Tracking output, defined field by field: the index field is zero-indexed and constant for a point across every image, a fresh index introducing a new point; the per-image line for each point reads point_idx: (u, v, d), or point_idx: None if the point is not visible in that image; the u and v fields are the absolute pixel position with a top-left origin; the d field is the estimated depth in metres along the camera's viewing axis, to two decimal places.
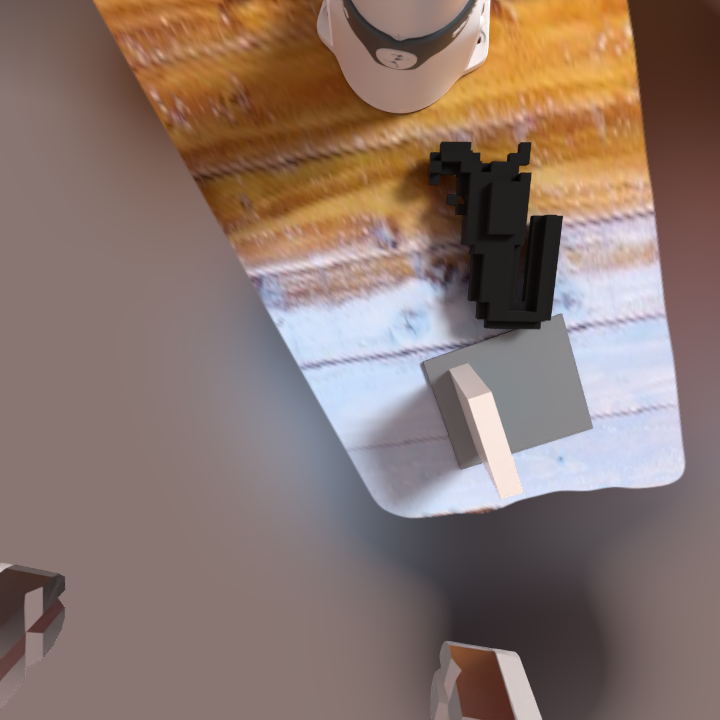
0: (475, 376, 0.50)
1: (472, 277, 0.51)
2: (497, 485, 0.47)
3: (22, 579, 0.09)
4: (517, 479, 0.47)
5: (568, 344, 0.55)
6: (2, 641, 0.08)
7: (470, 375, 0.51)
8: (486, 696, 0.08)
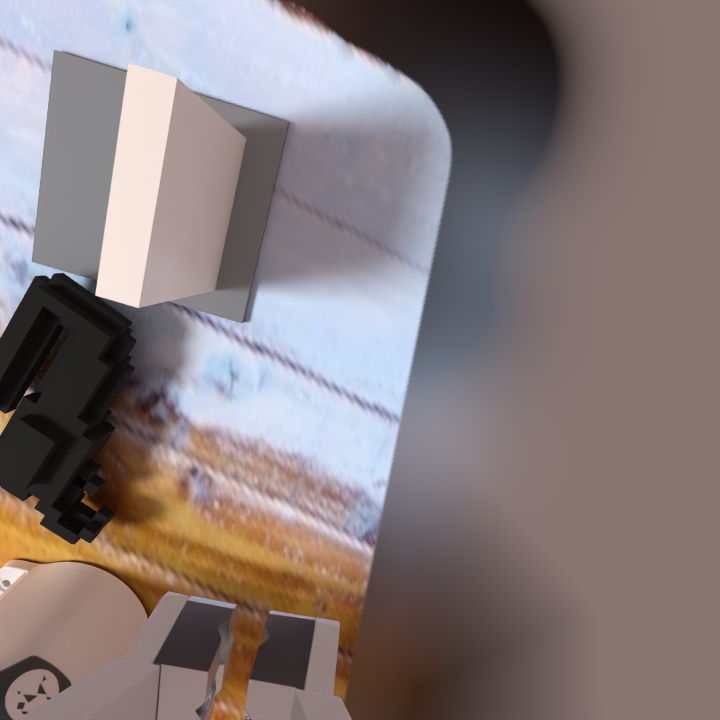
0: None
1: (110, 395, 0.36)
2: (168, 113, 0.22)
3: (208, 611, 0.09)
4: (126, 100, 0.22)
5: (39, 213, 0.36)
6: (210, 677, 0.08)
7: None
8: (284, 660, 0.08)
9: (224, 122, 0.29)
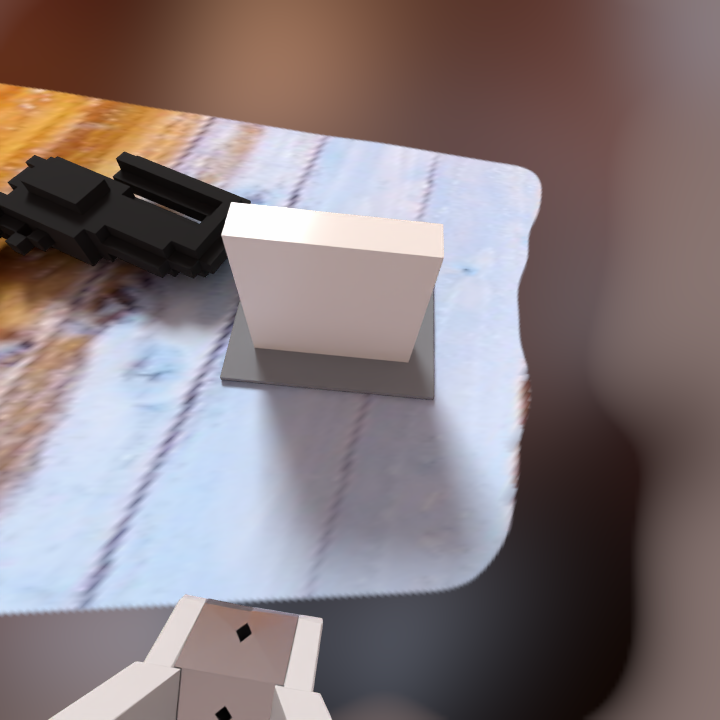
0: None
1: (130, 254, 0.34)
2: (412, 252, 0.24)
3: (225, 614, 0.09)
4: (413, 223, 0.25)
5: None
6: None
7: None
8: (265, 657, 0.08)
9: (417, 328, 0.30)
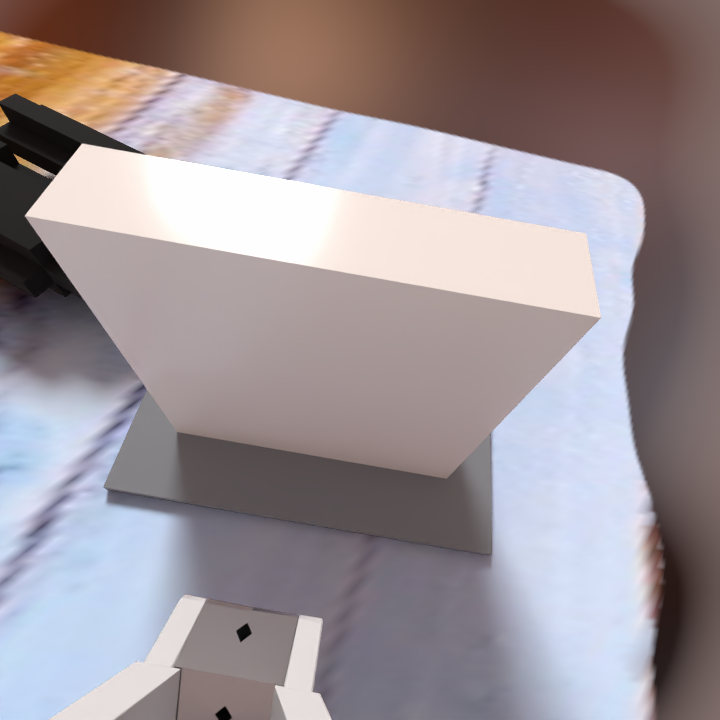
0: None
1: None
2: (520, 299, 0.09)
3: (225, 614, 0.09)
4: (516, 226, 0.10)
5: None
6: None
7: None
8: (265, 657, 0.08)
9: (479, 438, 0.15)
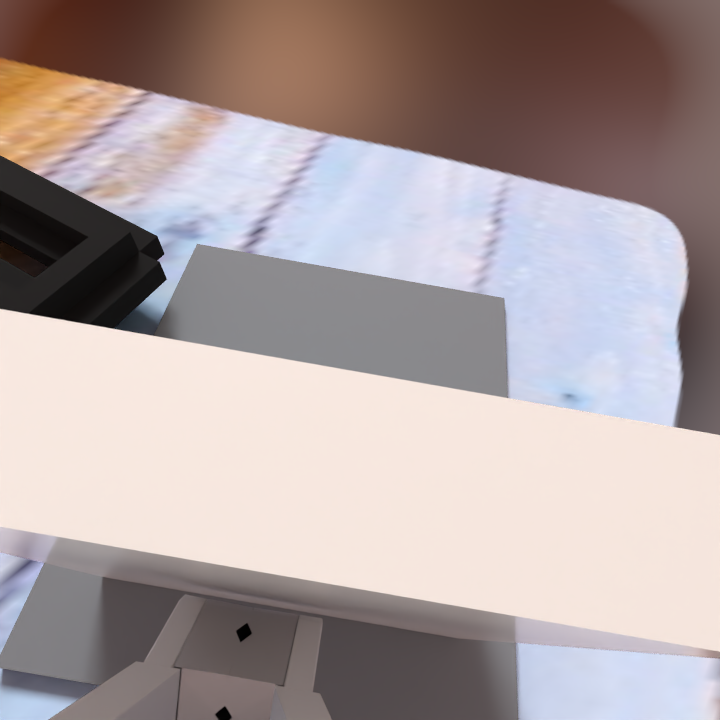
0: None
1: None
2: (625, 621, 0.05)
3: (225, 614, 0.09)
4: (597, 426, 0.06)
5: (272, 260, 0.22)
6: None
7: None
8: (266, 657, 0.08)
9: (508, 641, 0.11)
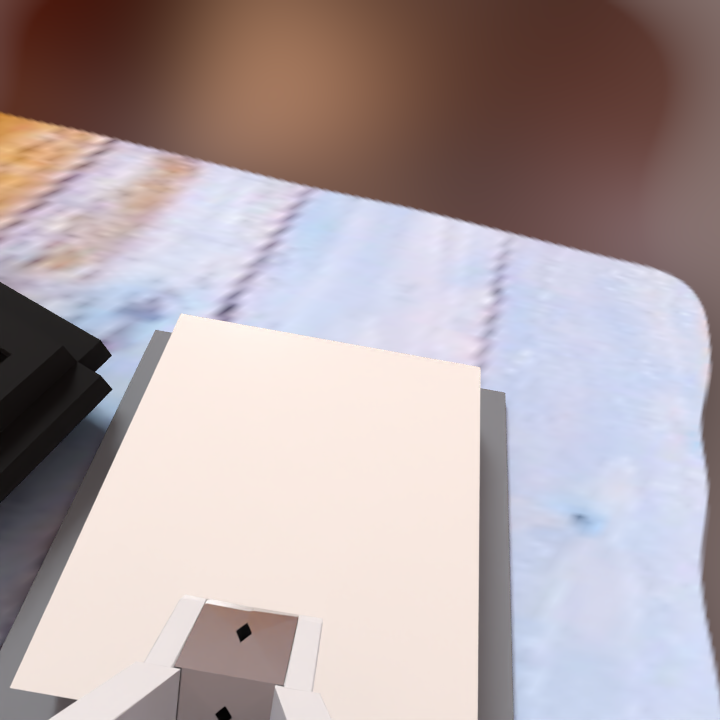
0: None
1: None
2: None
3: (225, 615, 0.09)
4: None
5: None
6: None
7: None
8: (265, 657, 0.08)
9: (473, 560, 0.14)
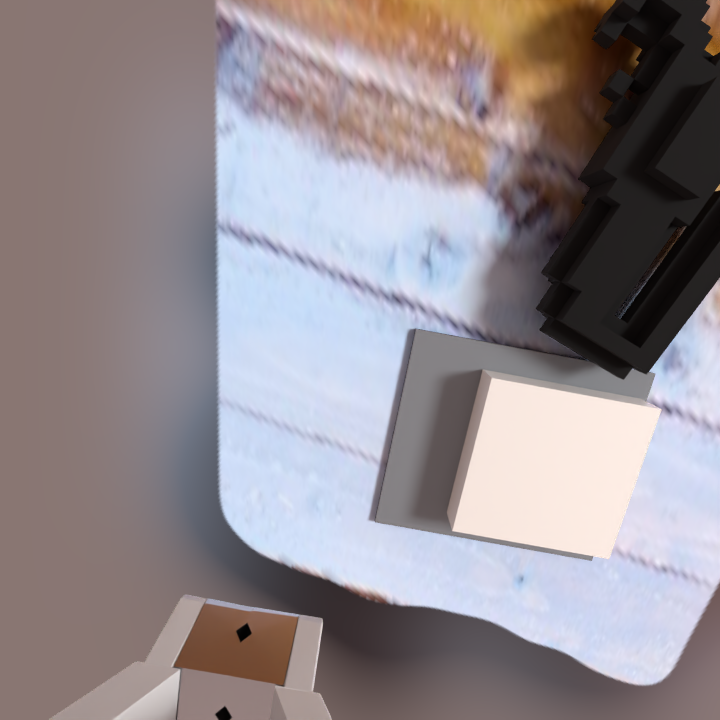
0: (564, 385, 0.32)
1: (573, 236, 0.28)
2: (615, 538, 0.33)
3: (225, 614, 0.09)
4: None
5: None
6: None
7: (553, 384, 0.32)
8: (265, 657, 0.08)
9: (516, 540, 0.33)
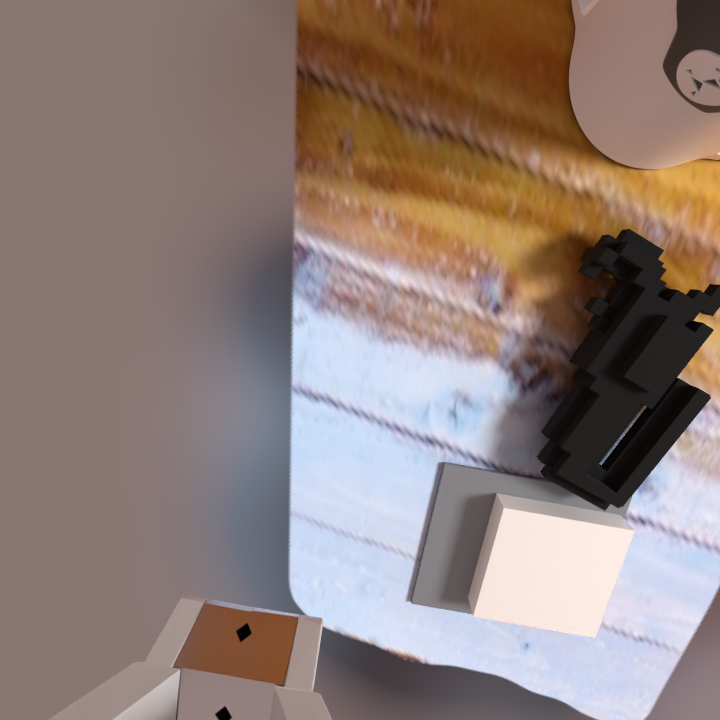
0: (560, 506, 0.42)
1: (565, 411, 0.37)
2: (599, 622, 0.42)
3: (225, 615, 0.09)
4: None
5: None
6: None
7: (551, 506, 0.41)
8: (265, 657, 0.08)
9: (523, 623, 0.42)
